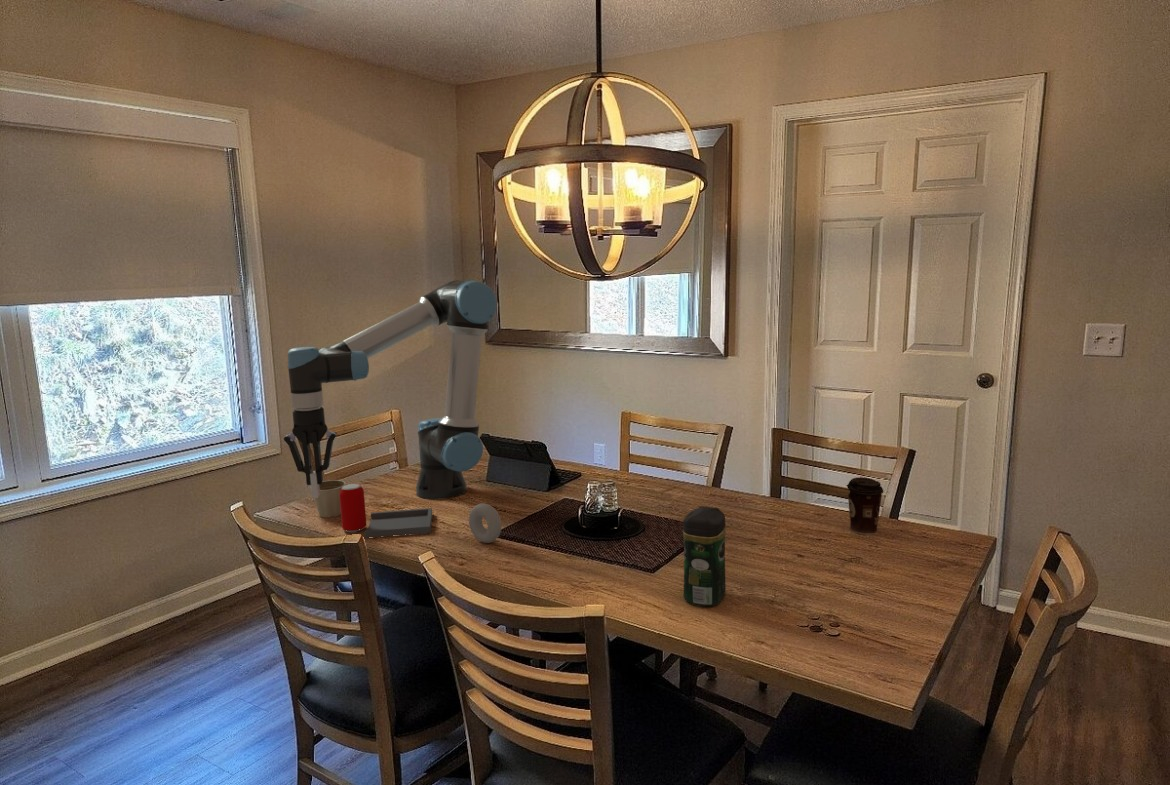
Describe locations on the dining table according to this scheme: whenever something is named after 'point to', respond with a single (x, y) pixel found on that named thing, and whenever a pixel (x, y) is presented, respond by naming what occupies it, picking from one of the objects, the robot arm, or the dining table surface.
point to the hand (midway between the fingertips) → (316, 496)
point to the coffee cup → (864, 505)
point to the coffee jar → (704, 556)
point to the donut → (492, 520)
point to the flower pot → (329, 498)
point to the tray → (399, 522)
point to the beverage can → (352, 508)
